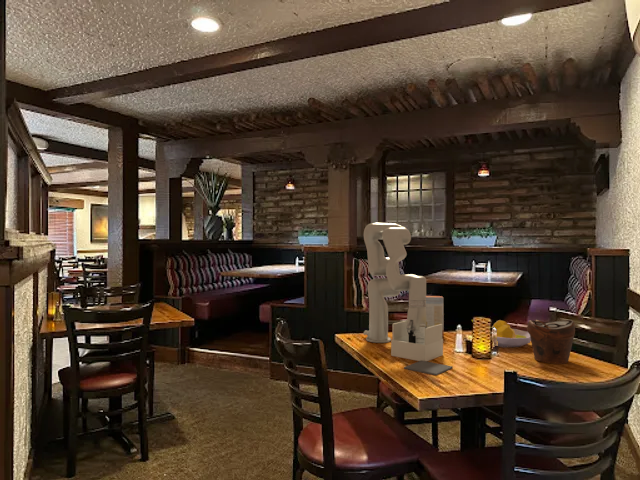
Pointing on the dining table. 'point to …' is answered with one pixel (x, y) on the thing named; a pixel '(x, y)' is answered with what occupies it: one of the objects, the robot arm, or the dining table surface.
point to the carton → (413, 350)
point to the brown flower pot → (551, 340)
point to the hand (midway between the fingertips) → (417, 342)
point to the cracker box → (435, 311)
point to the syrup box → (420, 334)
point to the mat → (428, 367)
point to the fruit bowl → (510, 335)
